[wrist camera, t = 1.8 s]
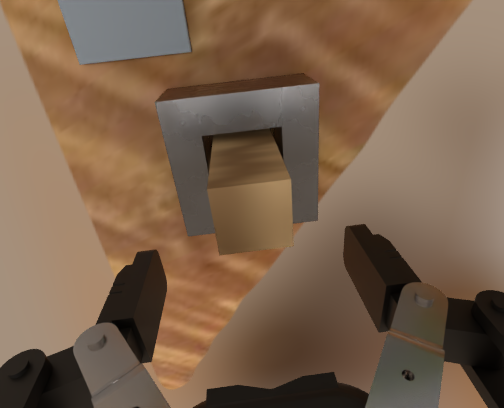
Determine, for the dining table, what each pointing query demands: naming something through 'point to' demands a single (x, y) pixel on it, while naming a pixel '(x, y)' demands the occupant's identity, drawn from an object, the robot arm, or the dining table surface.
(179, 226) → the dining table surface
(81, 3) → the rubber mat
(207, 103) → the socket block
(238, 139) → the square peg
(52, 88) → the dining table surface
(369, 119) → the dining table surface
